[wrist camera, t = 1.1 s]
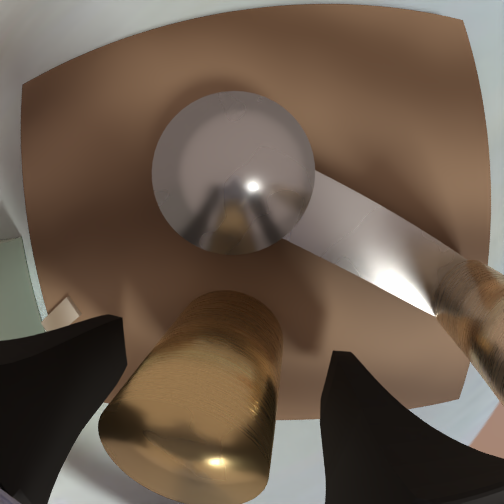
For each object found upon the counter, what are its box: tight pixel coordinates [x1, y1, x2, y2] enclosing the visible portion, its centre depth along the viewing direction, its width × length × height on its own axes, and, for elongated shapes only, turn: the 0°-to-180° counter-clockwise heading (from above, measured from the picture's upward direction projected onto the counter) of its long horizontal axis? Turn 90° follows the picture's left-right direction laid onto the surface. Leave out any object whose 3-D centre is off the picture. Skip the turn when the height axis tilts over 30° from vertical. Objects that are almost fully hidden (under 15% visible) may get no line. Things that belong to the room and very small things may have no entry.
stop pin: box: [98, 290, 284, 504], centre depth 9 cm, size 4×4×6 cm
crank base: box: [21, 4, 491, 420], centre depth 11 cm, size 16×20×1 cm
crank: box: [152, 91, 504, 406], centre depth 7 cm, size 11×4×6 cm, turn 65°
